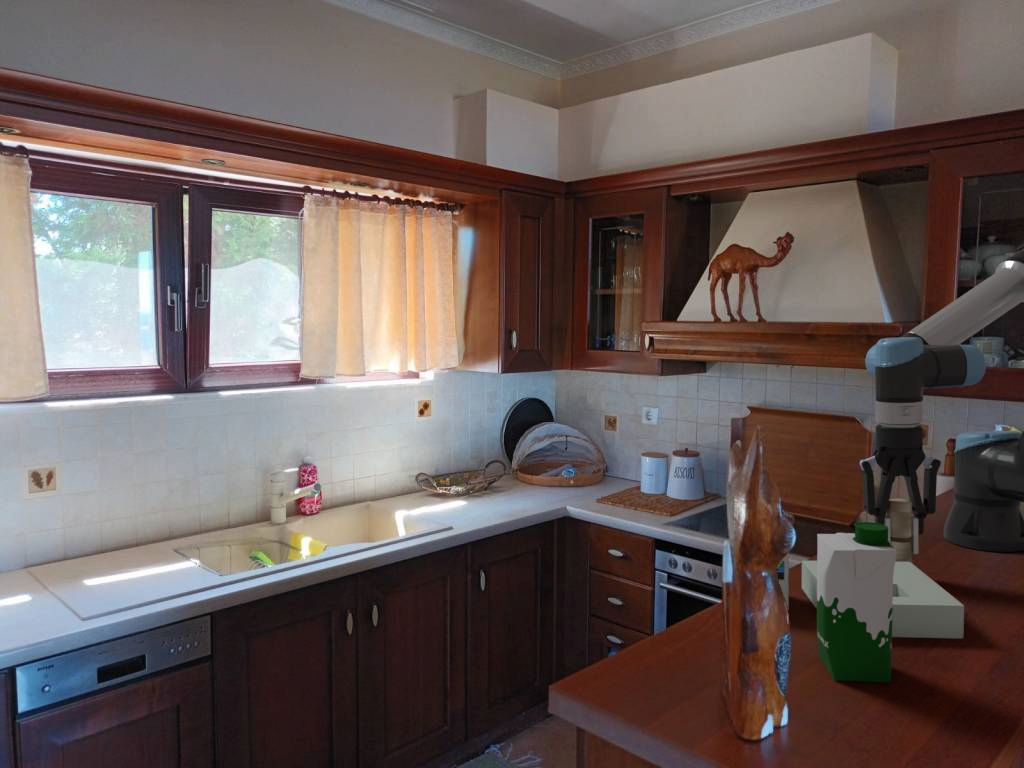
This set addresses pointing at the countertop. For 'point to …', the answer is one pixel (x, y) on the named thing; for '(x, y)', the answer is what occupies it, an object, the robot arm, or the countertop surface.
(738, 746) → the countertop surface
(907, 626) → the board
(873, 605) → the milk carton
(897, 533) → the peg
